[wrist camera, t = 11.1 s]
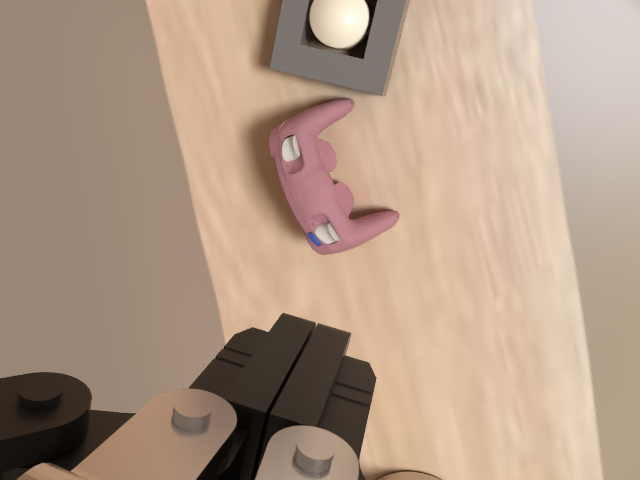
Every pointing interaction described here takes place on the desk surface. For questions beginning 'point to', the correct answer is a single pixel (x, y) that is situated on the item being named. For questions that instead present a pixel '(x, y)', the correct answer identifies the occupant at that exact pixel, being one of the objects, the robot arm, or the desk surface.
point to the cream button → (340, 22)
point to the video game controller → (321, 182)
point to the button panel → (335, 67)
